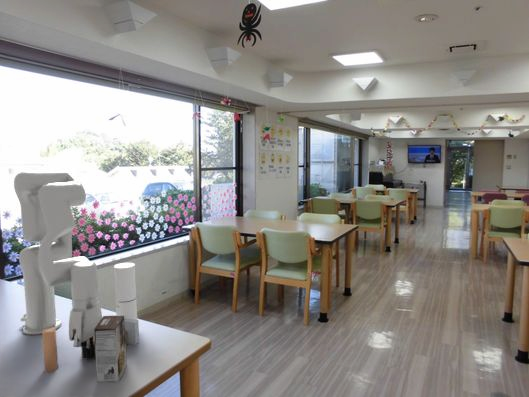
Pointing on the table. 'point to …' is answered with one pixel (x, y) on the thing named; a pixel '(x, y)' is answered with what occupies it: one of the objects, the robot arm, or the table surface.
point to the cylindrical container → (125, 290)
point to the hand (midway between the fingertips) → (88, 357)
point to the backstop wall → (131, 331)
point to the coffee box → (110, 348)
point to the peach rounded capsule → (50, 349)
